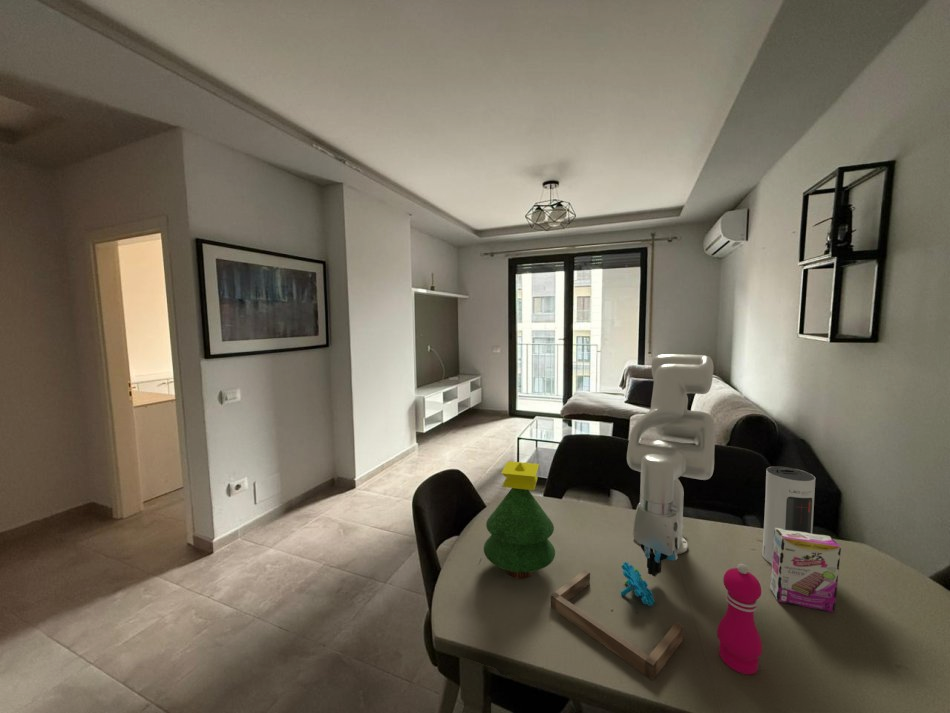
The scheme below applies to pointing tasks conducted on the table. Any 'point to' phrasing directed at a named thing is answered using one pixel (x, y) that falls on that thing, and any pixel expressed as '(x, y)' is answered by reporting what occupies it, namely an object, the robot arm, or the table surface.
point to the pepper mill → (740, 621)
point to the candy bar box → (805, 569)
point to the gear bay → (610, 639)
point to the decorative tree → (519, 526)
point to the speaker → (787, 504)
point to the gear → (636, 584)
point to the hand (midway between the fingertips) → (653, 572)
